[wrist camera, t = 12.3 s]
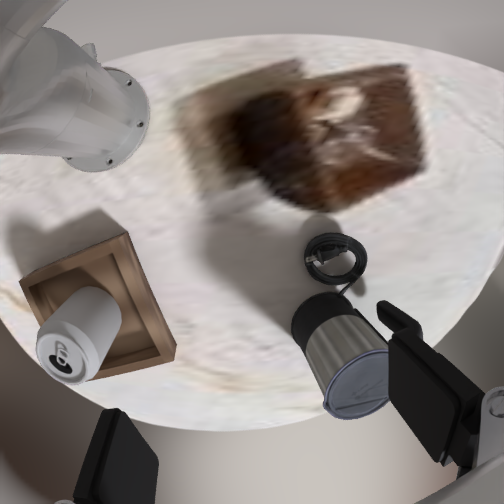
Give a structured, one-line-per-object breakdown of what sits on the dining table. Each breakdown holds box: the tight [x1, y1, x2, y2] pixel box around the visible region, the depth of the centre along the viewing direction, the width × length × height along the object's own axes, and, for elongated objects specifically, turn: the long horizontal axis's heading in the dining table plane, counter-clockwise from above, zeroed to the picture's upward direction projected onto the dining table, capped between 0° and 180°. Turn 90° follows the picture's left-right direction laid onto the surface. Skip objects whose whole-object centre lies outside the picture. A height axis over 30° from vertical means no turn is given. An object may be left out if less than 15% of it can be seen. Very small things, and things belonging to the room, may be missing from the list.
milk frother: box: [291, 233, 423, 420], centre depth 32 cm, size 14×16×15 cm
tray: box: [19, 232, 177, 382], centre depth 34 cm, size 16×16×4 cm
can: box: [36, 286, 122, 385], centre depth 29 cm, size 8×8×12 cm
